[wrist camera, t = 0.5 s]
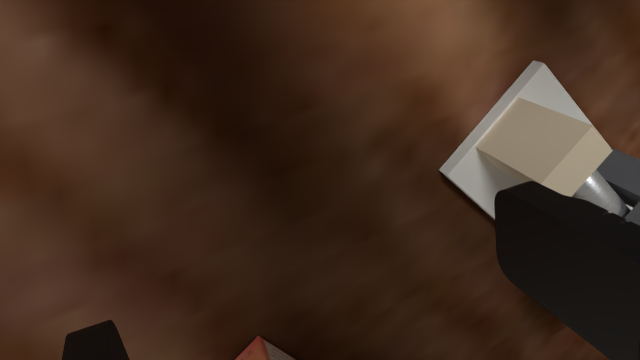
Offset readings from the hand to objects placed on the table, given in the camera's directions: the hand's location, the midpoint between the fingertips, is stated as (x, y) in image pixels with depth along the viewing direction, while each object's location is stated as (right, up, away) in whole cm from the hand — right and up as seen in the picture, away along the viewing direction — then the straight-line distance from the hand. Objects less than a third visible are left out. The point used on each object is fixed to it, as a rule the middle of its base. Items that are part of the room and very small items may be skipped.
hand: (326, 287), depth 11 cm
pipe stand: (+20, -1, +30) cm, 36 cm away
